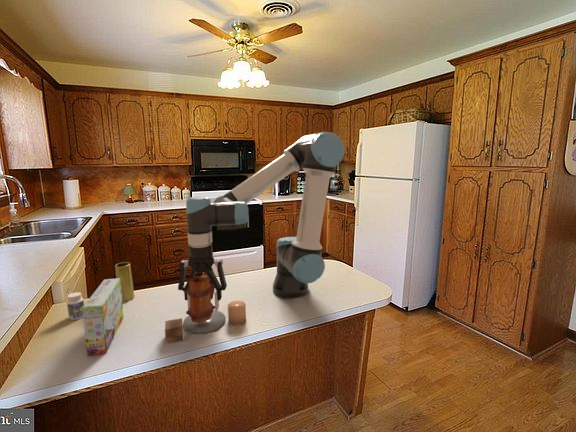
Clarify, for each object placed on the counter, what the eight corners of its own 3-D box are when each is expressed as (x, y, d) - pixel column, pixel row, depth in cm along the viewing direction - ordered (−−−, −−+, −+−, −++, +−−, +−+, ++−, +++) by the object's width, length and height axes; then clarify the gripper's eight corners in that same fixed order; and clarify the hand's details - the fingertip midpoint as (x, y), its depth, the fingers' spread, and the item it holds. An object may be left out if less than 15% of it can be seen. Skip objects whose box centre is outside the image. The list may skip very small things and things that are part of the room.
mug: (206, 328, 95) (203, 283, 92) (182, 325, 96) (179, 281, 93) (224, 306, 109) (223, 266, 106) (203, 303, 110) (201, 265, 108)
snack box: (108, 353, 87) (102, 305, 84) (86, 357, 85) (79, 308, 82) (125, 316, 107) (120, 276, 104) (107, 319, 105) (102, 278, 102)
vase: (118, 303, 116) (114, 268, 113) (117, 297, 121) (113, 263, 119) (135, 299, 119) (132, 265, 117) (133, 293, 125) (130, 260, 122)
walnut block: (183, 332, 97) (182, 318, 96) (183, 340, 93) (182, 326, 92) (166, 335, 96) (165, 321, 95) (166, 344, 91) (164, 329, 90)
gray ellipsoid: (228, 311, 110) (228, 309, 110) (220, 333, 96) (220, 331, 96) (190, 311, 110) (190, 309, 110) (177, 334, 96) (176, 331, 96)
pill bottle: (75, 321, 104) (72, 298, 102) (66, 318, 105) (62, 296, 104) (88, 314, 108) (85, 292, 106) (79, 312, 110) (76, 290, 108)
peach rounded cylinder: (246, 316, 107) (246, 300, 106) (244, 325, 101) (244, 309, 100) (230, 316, 107) (229, 300, 106) (226, 325, 101) (226, 309, 100)
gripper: (234, 241, 102) (236, 303, 106) (172, 241, 101) (176, 303, 106) (230, 247, 94) (233, 314, 99) (163, 247, 94) (168, 314, 98)
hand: (203, 308), depth 102 cm, fingers closed on mug, 8 cm apart
